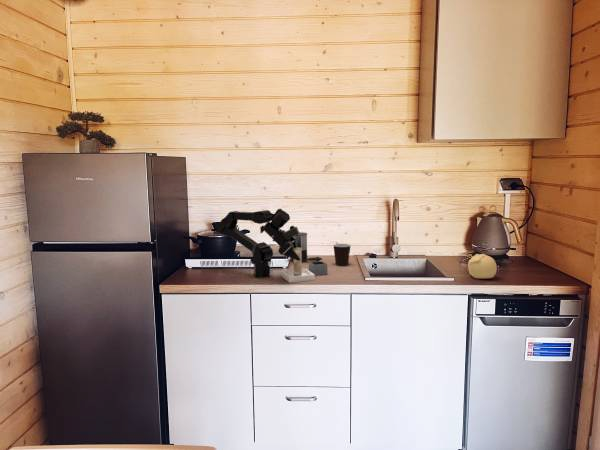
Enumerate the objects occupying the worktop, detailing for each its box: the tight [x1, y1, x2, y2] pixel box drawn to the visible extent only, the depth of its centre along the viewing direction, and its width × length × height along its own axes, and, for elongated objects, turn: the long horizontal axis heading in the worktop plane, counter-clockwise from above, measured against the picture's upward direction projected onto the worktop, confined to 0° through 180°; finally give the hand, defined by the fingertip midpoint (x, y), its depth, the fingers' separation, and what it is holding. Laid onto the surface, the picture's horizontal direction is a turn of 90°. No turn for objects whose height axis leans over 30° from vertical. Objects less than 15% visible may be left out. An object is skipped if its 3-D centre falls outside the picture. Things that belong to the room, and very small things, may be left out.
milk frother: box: [290, 231, 323, 263], centre depth 235 cm, size 14×16×15 cm
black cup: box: [333, 243, 351, 267], centre depth 228 cm, size 12×9×10 cm
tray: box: [280, 268, 316, 283], centre depth 202 cm, size 12×12×2 cm
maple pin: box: [293, 247, 303, 276], centre depth 201 cm, size 4×4×13 cm
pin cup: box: [308, 260, 328, 277], centre depth 210 cm, size 7×7×5 cm
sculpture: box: [467, 253, 498, 279], centre depth 199 cm, size 12×12×11 cm
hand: (300, 257), depth 201 cm, fingers open, 9 cm apart
